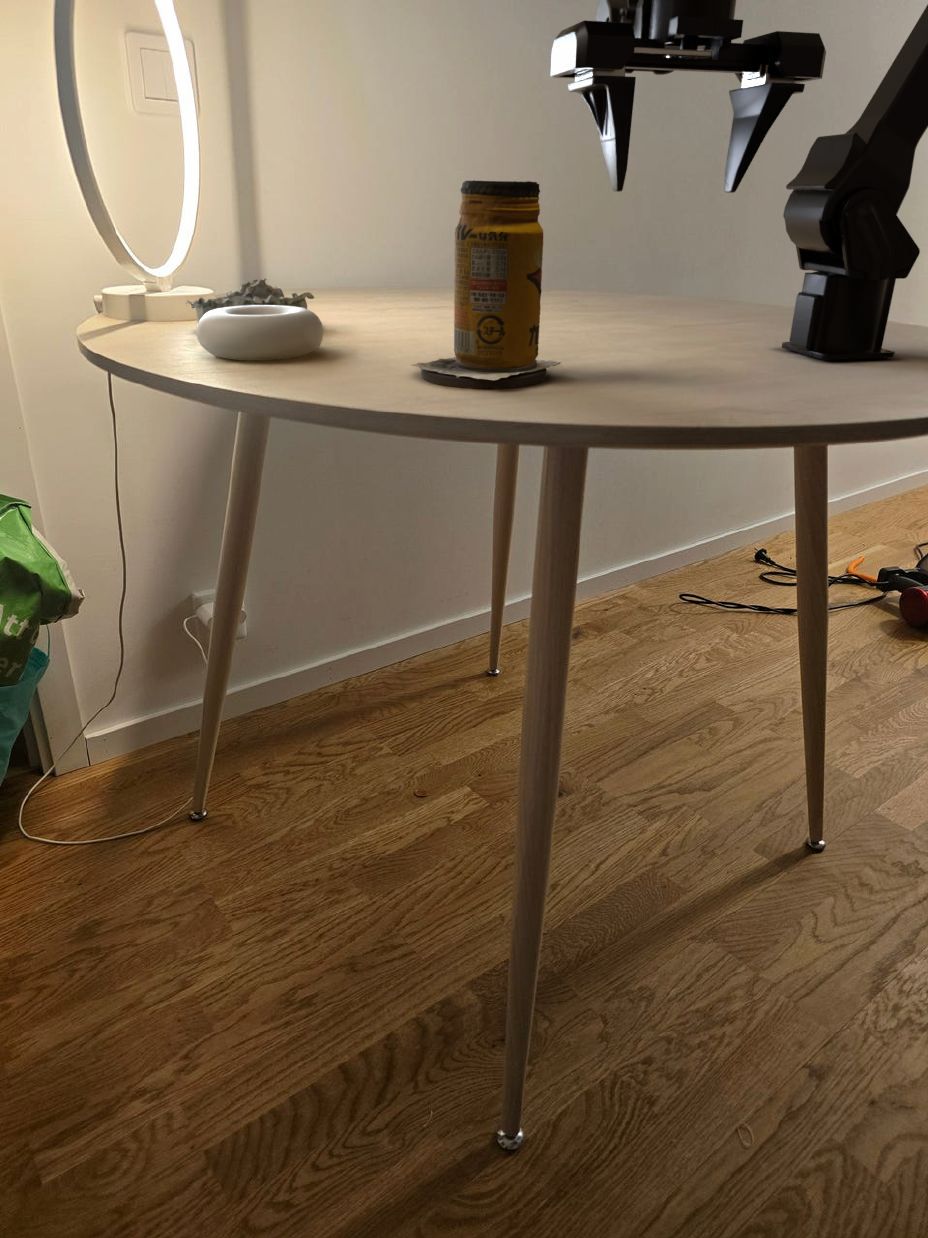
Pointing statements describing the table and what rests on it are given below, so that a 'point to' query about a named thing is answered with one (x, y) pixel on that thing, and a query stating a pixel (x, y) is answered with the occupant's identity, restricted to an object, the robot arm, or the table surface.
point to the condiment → (496, 282)
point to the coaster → (470, 382)
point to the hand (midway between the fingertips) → (674, 191)
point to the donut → (259, 332)
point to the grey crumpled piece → (250, 298)
